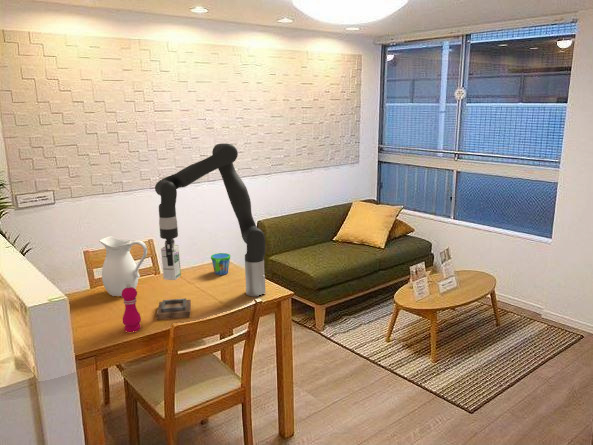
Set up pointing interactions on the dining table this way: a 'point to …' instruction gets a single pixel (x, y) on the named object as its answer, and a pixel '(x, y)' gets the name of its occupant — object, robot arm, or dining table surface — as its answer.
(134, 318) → the pepper mill
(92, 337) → the dining table surface
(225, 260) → the snack cup
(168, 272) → the syrup box
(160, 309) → the plinth
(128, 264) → the pitcher
